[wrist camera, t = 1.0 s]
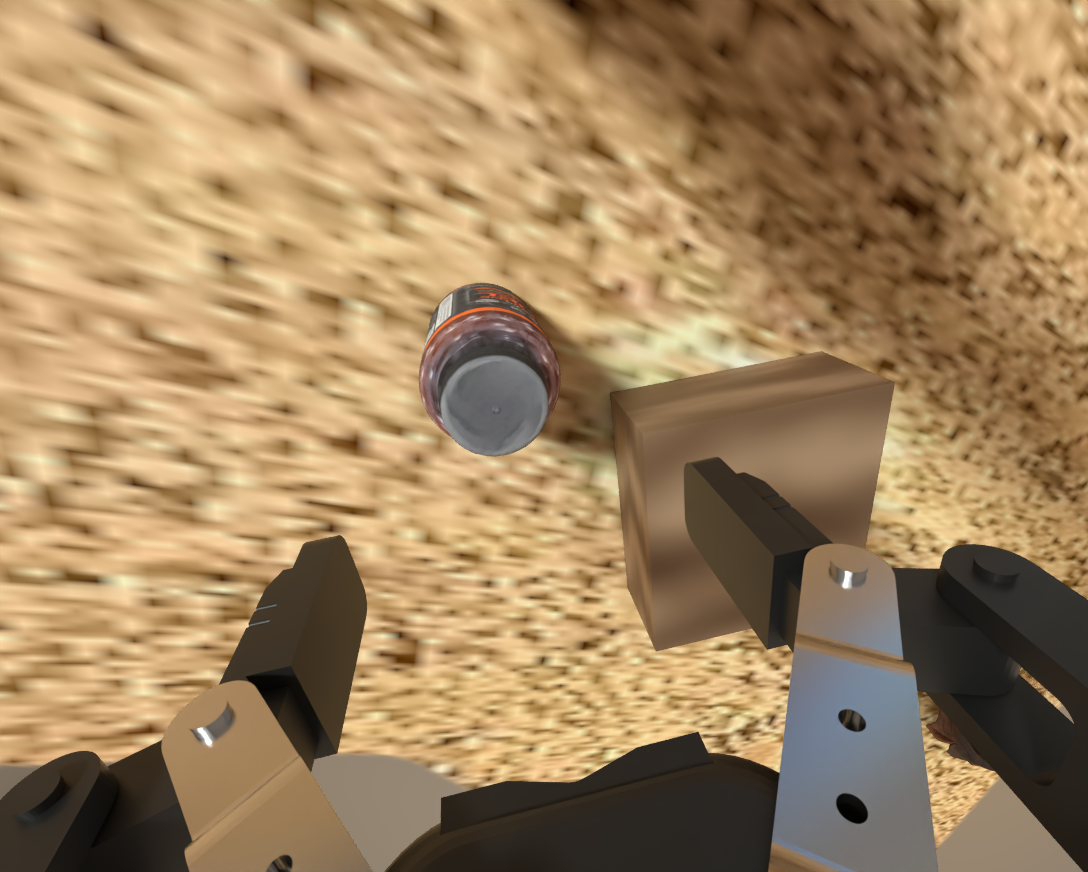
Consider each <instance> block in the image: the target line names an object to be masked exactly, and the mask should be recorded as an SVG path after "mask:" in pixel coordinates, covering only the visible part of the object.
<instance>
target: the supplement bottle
mask: <svg viewBox="0 0 1088 872" xmlns="http://www.w3.org/2000/svg"><path fill="white" fill-rule="evenodd" d="M419 388H420V393H421V398H422V402H423V404H424V406H425V408H426V410H427V412H428V414H429V416H430V417H431V419H432V420H433V421H434V422H435V424H436V425H437V426H438V427H439V428H440V429H441V430H442V431H444V432H445V433H446V434H447V435H449V436H450V437H452V438H453V439H454V440H455V441H456V442H457V443H458V444H459V445H461V446H462V447H463V448H465V449H467V450H469V451H471V452H473V453H475V454H481V455H485V456H501V455H507V454H511V453H514V452H516V451H518V450H520V449H522V448H524V447H526V446H527V445H528V444H530V443H531V442H532V441H533V440H534V439H535V438H536V437H537V436H538V434H539V433H540V431H541V430H542V428H543V426H544V424H545V421H546V420H547V419H548V418H549V416H550V414H551V413H552V411H553V409H554V407H555V404H556V402H557V399H558V395H559V390H560V367H559V362H558V359H557V356H556V354H555V351H554V349H553V347H552V345H551V343H550V342H549V340H548V338H547V336H546V335H545V333H544V332H543V330H542V329H541V327H540V326H539V324H538V323H537V321H536V319H535V318H534V316H533V314H532V313H531V312H530V310H529V308H528V307H527V306H526V304H525V303H524V302H523V301H522V300H521V299H520V298H519V297H517V296H516V295H515V294H514V293H512V292H511V291H510V290H507V289H506V288H503V287H501V286H498V285H494V284H489V283H474V284H469V285H465V286H462V287H460V288H458V289H456V290H454V291H453V292H451V293H450V294H448V295H447V296H446V297H445V298H444V299H443V300H442V301H441V302H440V303H439V305H438V306H437V308H436V310H435V311H434V314H433V316H432V318H431V321H430V324H429V329H428V333H427V338H426V342H425V347H424V351H423V355H422V360H421V365H420V372H419Z"/></svg>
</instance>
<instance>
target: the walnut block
mask: <svg viewBox="0 0 1088 872" xmlns="http://www.w3.org/2000/svg"><path fill="white" fill-rule="evenodd" d="M894 384H895V382H893V381H891V380H888V379H886V378H884V377H881V376H879V375H876V374H874V373H872V372H869V371H867V370H865V369H862V368H860V367H857V366H855V365H853V364H850V363H848V362H846V361H843V360H841V359H838V358H836V357H834V356H831V355H829V354H827V353H824V352H816V353H811V354H806V355H801V356H796V357H791V358H786V359H781V360H776V361H771V362H766V363H761V364H755V365H750V366H745V367H740V368H735V369H730V370H725V371H720V372H715V373H710V374H705V375H700V376H695V377H689V378H684V379H679V380H674V381H669V382H664V383H659V384H654V385H649V386H644V387H639V388H634V389H628V390H623V391H618V392H613V393H610V396H611V407H612V418H613V430H614V441H615V452H616V463H617V474H618V485H619V496H620V507H621V518H622V529H623V540H624V551H625V563H626V574H627V585H628V589H629V592H630V594H631V596H632V598H633V601H634V603H635V605H636V607H637V610H638V612H639V614H640V616H641V619H642V621H643V623H644V625H645V628H646V630H647V632H648V634H649V637H650V639H651V641H652V643H653V646H654V648H655V650H656V651H660V650H664V649H668V648H672V647H676V646H680V645H685V644H689V643H693V642H697V641H701V640H705V639H709V638H714V637H718V636H722V635H726V634H730V633H734V632H738V631H743V630H747V629H751V628H752V627H751V626H750V624H749V623H748V621H747V620H746V619H745V617H744V616H743V614H742V613H741V611H740V610H739V608H738V607H737V606H736V604H735V603H734V601H733V600H732V598H731V597H730V596H729V594H728V593H727V591H726V590H725V588H724V587H723V585H722V584H721V583H720V581H719V580H718V578H717V577H716V575H715V574H714V573H713V571H712V570H711V568H710V567H709V565H708V564H707V562H706V561H705V560H704V558H703V557H702V555H701V554H700V552H699V551H698V550H697V548H696V547H695V545H694V544H693V542H692V540H691V538H690V536H689V534H688V531H687V527H686V523H685V507H684V466H685V464H686V463H688V462H693V461H698V460H702V459H707V458H712V457H719V458H721V459H722V460H723V461H724V462H725V463H726V464H727V465H728V466H729V467H730V468H731V469H732V470H733V471H734V472H735V473H736V474H738V473H742V472H745V473H748V474H750V475H752V476H754V477H757V478H759V479H761V480H763V481H765V482H766V483H767V484H769V485H770V486H771V487H772V488H773V489H774V490H775V491H776V492H777V493H778V494H779V496H780V497H783V498H784V499H785V500H786V501H787V502H788V503H789V504H791V507H792V508H793V507H794V508H795V509H796V510H797V511H798V512H799V513H801V514H802V515H803V516H804V517H805V518H806V519H807V520H808V521H809V522H810V523H812V524H813V525H814V526H815V527H816V528H817V529H818V530H819V531H820V532H822V533H823V534H824V535H825V536H826V537H827V538H828V539H829V540H830V541H831V542H833V543H834V544H847V545H852V546H856V547H860V548H863V549H865V546H866V540H867V534H868V529H869V523H870V518H871V512H872V507H873V501H874V495H875V490H876V484H877V479H878V473H879V468H880V462H881V456H882V451H883V445H884V440H885V434H886V429H887V423H888V417H889V412H890V406H891V401H892V395H893V389H894Z"/></svg>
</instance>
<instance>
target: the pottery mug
mask: <svg viewBox="0 0 1088 872" xmlns="http://www.w3.org/2000/svg"><path fill="white" fill-rule="evenodd" d="M926 727H927V728H928V729H929V730H930V732H931V733H932V734H933V736H934V737H935V738H936V739H937V740H939V741H941V742H945V743H948V744H950V745H949V749H948V750H947V753H948V754H950V755H951V756H952V757H955V758H959V759H962V760H965V761H968V762H969V763H970V764H971V765H975V766H981V767H983V768H986V769H989V770H992V771H995V770H994V769H993V768H992V767H991V766H990V765H989V764H988V763H987V761H986V760H985V759H984V758H983V757H982V756H981V755H980V753H979V752H978V751H977V750H976V749H975V748H974V747H973V745H972V744H971V743H970V742H969V741H968V740H967V739H966V737H965V736H964V735H963V734H962V733H961V732H960V731H959V730H958V728H957V727H956V726H955V725H954V724H953V723H952V722H951V720H950V719H949V718H948V717H947V716H946V715H945V714H944V712H943V711H942V710H941V709H940V710H939V717H938V720H937V721H936V722H934V723H932V724H927V725H926Z"/></svg>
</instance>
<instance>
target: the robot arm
mask: <svg viewBox="0 0 1088 872" xmlns="http://www.w3.org/2000/svg"><path fill="white" fill-rule="evenodd" d="M684 507H685V523H686V527H687V531H688V534H689V536H690V538H691V540H692V542H693V544H694V545H695V547H696V548H697V550H698V551H699V552H700V554H701V555H702V557H703V558H704V560H705V561H706V562H707V564H708V565H709V567H710V568H711V570H712V571H713V573H714V574H715V575H716V577H717V578H718V580H719V581H720V583H721V584H722V585H723V587H724V588H725V590H726V591H727V593H728V594H729V596H730V597H731V598H732V600H733V601H734V603H735V604H736V606H737V607H738V608H739V610H740V611H741V613H742V614H743V616H744V617H745V619H746V620H747V621H748V623H749V624H750V626H751V627H752V629H753V630H754V631H755V633H756V634H757V636H758V637H759V639H760V640H761V641H762V643H763V644H764V646H765V647H766V649H767V650H768V649H772V648H776V647H780V646H784V645H788V646H789V648H790V649H791V650H792V652H793V661H792V670H791V679H790V688H789V696H788V705H787V714H786V723H785V731H784V740H783V749H782V757H781V766H780V773H778V772H776V771H774V770H772V769H770V768H768V767H766V766H764V765H761V764H758V763H756V762H753V761H751V760H747V759H744V758H740V757H736V756H732V755H725V754H718V753H708V752H707V750H706V748H705V745H704V743H703V741H702V739H701V737H700V734H699V732H696V733H692V734H688V735H684V736H680V737H676V738H672V739H668V740H665V741H661V742H657V743H653V744H649V745H645V746H641V747H637V748H635V749H634V750H632V751H630V752H629V753H627V754H625V755H623V756H622V757H620V758H618V759H616V760H615V761H613V762H611V763H610V764H608V765H606V766H604V767H603V768H601V769H599V770H598V771H596V772H594V773H592V774H591V775H589V776H587V777H585V778H584V779H582V780H580V781H577V782H570V783H566V782H522V781H505V782H501V783H497V784H493V785H490V786H486V787H482V788H478V789H474V790H470V791H466V792H462V793H459V794H455V795H451V796H447V797H443V798H441V823H440V824H438V825H436V826H434V827H433V828H431V829H430V830H429V831H427V832H426V833H424V834H423V835H421V836H420V837H419V838H417V839H416V840H415V841H414V842H413V843H412V844H410V845H409V846H408V847H407V848H406V849H405V850H404V851H403V852H402V853H401V854H400V855H399V856H398V857H397V858H396V859H395V860H394V861H393V863H392V864H391V865H390V866H389V867H388V868H387V869H386V871H385V872H938V865H937V857H936V848H935V839H934V831H933V822H932V813H931V805H930V796H929V788H928V779H927V770H926V762H925V753H924V745H923V736H922V727H921V719H920V710H919V702H918V693H917V691H921V692H926V693H927V694H928V695H929V697H930V698H931V699H932V700H933V701H934V702H935V703H936V705H937V706H938V707H939V708H940V709H941V710H942V711H943V712H944V714H945V715H946V716H947V717H948V718H949V719H950V720H951V722H952V723H953V724H954V725H955V726H956V727H957V728H958V730H959V731H960V732H961V733H962V734H963V735H964V736H965V737H966V739H967V740H968V741H969V742H970V743H971V744H972V745H973V747H974V748H975V749H976V750H977V751H978V752H979V753H980V755H981V756H982V757H983V758H984V759H985V760H986V761H987V763H988V764H989V765H990V766H991V767H992V768H993V769H994V770H995V772H996V773H997V774H998V775H999V776H1000V777H1001V778H1002V779H1003V781H1004V782H1005V783H1006V784H1007V785H1008V786H1009V787H1010V789H1011V790H1012V791H1013V792H1014V793H1015V794H1016V795H1017V797H1018V798H1019V799H1020V800H1021V801H1022V802H1023V803H1024V805H1025V806H1026V807H1027V808H1028V809H1029V810H1030V811H1031V813H1032V814H1033V815H1034V816H1035V817H1036V818H1037V819H1038V821H1040V823H1041V824H1042V825H1043V826H1044V827H1045V829H1046V830H1047V831H1048V832H1049V833H1050V834H1051V835H1052V836H1053V838H1054V839H1055V840H1056V841H1057V842H1058V843H1059V844H1060V846H1061V847H1062V848H1063V849H1064V850H1065V851H1066V852H1067V853H1068V854H1069V856H1070V857H1071V858H1072V859H1073V860H1074V861H1075V863H1076V864H1077V865H1078V866H1079V867H1080V868H1081V869H1082V871H1083V872H1088V600H1087V599H1086V598H1084V597H1083V596H1081V595H1080V594H1078V593H1077V592H1075V591H1074V590H1072V589H1071V588H1069V587H1068V586H1066V585H1065V584H1064V583H1062V582H1061V581H1059V580H1058V579H1056V578H1055V577H1053V576H1052V575H1050V574H1049V573H1047V572H1046V571H1044V570H1043V569H1041V568H1040V567H1038V566H1037V565H1035V564H1034V563H1032V562H1031V561H1029V560H1027V559H1025V558H1023V557H1021V556H1019V555H1017V554H1015V553H1012V552H1010V551H1006V550H1003V549H1000V548H996V547H992V546H985V545H976V544H966V545H959V546H955V547H952V548H950V549H948V550H947V551H946V552H945V553H944V555H943V558H942V562H941V565H940V569H917V568H891V567H890V566H889V564H888V563H887V562H885V561H884V560H883V559H882V558H880V557H879V556H877V555H876V554H874V553H872V552H870V551H868V550H865V549H863V548H860V547H856V546H852V545H847V544H834V543H833V542H831V541H830V540H829V539H828V538H827V537H826V536H825V535H824V534H823V533H822V532H820V531H819V530H818V529H817V528H816V527H815V526H814V525H813V524H812V523H810V522H809V521H808V520H807V519H806V518H805V517H804V516H803V515H802V514H801V513H799V512H798V511H797V510H796V509H795V508H794V507H793V508H792V507H791V504H789V503H788V502H787V501H786V500H785V499H784V498H783V497H780V496H779V494H778V493H777V492H776V491H775V490H774V489H773V488H772V487H771V486H770V485H769V484H767V483H766V482H765V481H763V480H761V479H759V478H757V477H754V476H752V475H750V474H748V473H745V472H742V473H738V474H736V473H735V472H734V471H733V470H732V469H731V468H730V467H729V466H728V465H727V464H726V463H725V462H724V461H723V460H722V459H721V458H719V457H712V458H707V459H702V460H698V461H693V462H688V463H686V464H685V466H684ZM256 609H257V611H255V612H254V613H253V615H252V618H251V620H250V622H249V627H248V628H246V630H245V632H244V634H243V636H242V638H241V640H240V642H239V644H238V646H237V648H236V651H235V653H234V655H233V657H232V659H231V661H230V663H229V665H228V667H227V669H226V671H225V673H224V675H223V677H222V679H221V681H220V683H219V685H218V686H215V687H213V688H211V689H209V690H207V691H206V692H204V693H202V694H201V695H199V696H198V697H196V698H195V699H194V700H192V701H191V702H190V703H189V704H187V705H186V706H185V707H184V708H183V709H182V710H181V711H180V712H179V713H178V714H177V715H176V717H175V718H174V719H173V720H172V722H171V723H170V725H169V726H168V728H167V730H166V732H165V734H164V737H163V740H161V741H159V742H157V743H155V744H153V745H151V746H149V747H147V748H145V749H143V750H141V751H139V752H137V753H134V754H132V755H130V756H128V757H126V758H124V759H122V760H120V761H118V762H116V763H114V764H112V765H110V766H108V767H107V766H106V765H105V764H104V763H103V761H102V760H101V759H100V758H99V757H98V756H97V754H95V753H93V752H89V751H78V752H74V753H70V754H67V755H64V756H61V757H59V758H57V759H55V760H53V761H51V762H49V763H47V764H45V765H43V766H42V767H40V768H39V769H37V770H36V771H34V772H32V773H31V774H30V775H28V776H27V777H26V778H24V779H23V780H22V781H20V782H19V783H18V784H17V785H16V786H14V787H13V788H12V789H11V790H10V791H9V792H8V793H7V794H6V795H5V796H4V797H3V798H2V799H1V800H0V872H373V871H372V869H371V867H370V866H369V864H368V863H367V861H366V859H365V858H364V857H363V855H362V853H361V852H360V850H359V849H358V847H357V845H356V844H355V842H354V840H353V839H352V837H351V836H350V834H349V832H348V831H347V829H346V828H345V826H344V825H343V823H342V821H341V820H340V818H339V817H338V815H337V813H336V812H335V810H334V809H333V807H332V806H331V804H330V802H329V801H328V799H327V798H326V796H325V794H324V793H323V791H322V790H321V788H320V786H319V785H318V783H317V782H316V780H315V778H314V777H313V775H312V774H311V771H312V766H313V762H314V759H317V758H321V757H325V756H329V755H333V754H337V752H338V747H339V743H340V738H341V733H342V728H343V724H344V719H345V714H346V709H347V705H348V700H349V695H350V690H351V686H352V681H353V676H354V672H355V667H356V662H357V657H358V653H359V648H360V643H361V638H362V634H363V629H364V624H365V620H366V614H367V600H366V594H365V589H364V586H363V584H362V581H361V579H360V576H359V574H358V571H357V569H356V566H355V563H354V561H353V558H352V556H351V553H350V551H349V548H348V546H347V543H346V541H345V539H344V538H343V537H342V536H340V535H339V536H334V537H329V538H324V539H320V540H315V541H310V542H306V543H304V544H303V546H302V548H301V550H300V553H299V555H298V557H297V560H296V562H295V564H294V566H293V568H291V569H286V570H283V571H282V572H281V573H280V574H279V575H278V576H277V577H276V578H275V579H274V580H273V581H272V582H271V583H270V585H269V586H268V587H267V588H266V589H265V591H264V593H263V595H262V597H261V599H260V601H259V603H258V605H257V607H256ZM1021 667H1022V668H1023V669H1024V670H1026V671H1027V672H1028V673H1029V674H1030V675H1031V676H1032V677H1033V678H1035V679H1036V680H1037V681H1038V682H1039V683H1040V684H1041V685H1043V686H1044V687H1045V688H1046V689H1047V690H1048V691H1049V692H1050V693H1052V694H1053V695H1054V696H1055V697H1056V698H1057V699H1058V700H1059V701H1060V702H1061V703H1062V704H1063V705H1064V707H1065V708H1066V709H1067V711H1068V712H1069V714H1070V716H1071V717H1072V719H1073V722H1074V724H1073V723H1072V722H1071V721H1070V720H1069V719H1068V718H1067V717H1066V716H1065V715H1063V714H1062V713H1061V712H1060V711H1059V710H1058V709H1057V708H1056V707H1055V706H1053V705H1052V704H1051V703H1050V702H1049V701H1048V700H1047V699H1046V698H1045V697H1044V696H1042V695H1041V694H1040V693H1039V692H1038V691H1037V690H1036V689H1035V688H1034V687H1032V686H1031V685H1030V684H1029V683H1028V682H1027V681H1026V680H1025V679H1024V678H1022V677H1021V676H1020V675H1019V671H1020V669H1021Z"/></svg>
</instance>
